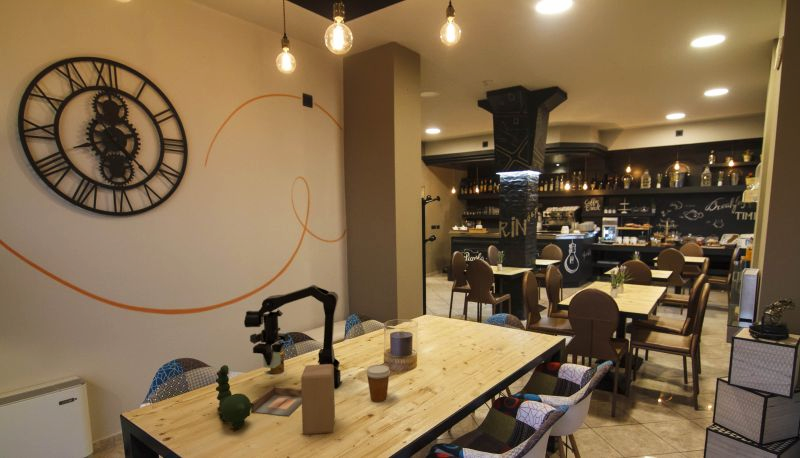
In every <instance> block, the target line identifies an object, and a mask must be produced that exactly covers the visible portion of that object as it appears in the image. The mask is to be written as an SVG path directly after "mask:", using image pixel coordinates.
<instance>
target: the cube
mask: <svg viewBox="0 0 800 458" xmlns="http://www.w3.org/2000/svg"><path fill="white" fill-rule="evenodd" d="M262 357H263V361H262V362H263V368H268V369H270V368H276V367H277V366H278V365H280V364H281V356H280V352H273V356H272V360H271V364H270V366H268V365H267V363H266V361H265V358H264V356H263V355H262Z"/></svg>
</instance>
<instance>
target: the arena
mask: <svg viewBox="0 0 800 458" xmlns="http://www.w3.org/2000/svg"><path fill="white" fill-rule="evenodd" d="M300 406H302V393H301V387H300V388H299V387H288V386H280V385H279V386H277V385H273V386H271V387H270V388H268V389H267V390H266V391H265V392H263V393H262V394H261V395H259V396H258V397H257V398H255V399H254V400H253V401H252V402H251V411H250V414H251V413H254V414H259V415H260V414H262V415H270V416H271V415H272V416H279V417H280V416H281V417H290V416H291V415H292V414H293V413H294V412H295V411H296V410H297V409H298V408H299V407H300Z"/></svg>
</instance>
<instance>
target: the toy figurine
mask: <svg viewBox="0 0 800 458" xmlns="http://www.w3.org/2000/svg"><path fill="white" fill-rule="evenodd" d="M229 370H230V368H229V366H228V365H225V364H224V365H222V366H221V367H220V368H219V370H218V371H217V372H216V376H217V378H216V379H215V382H216V383H217V384H218V386H216V387H215V391H217V392H218V394H217V396H216V400H218V401H219V402H218V407H217V409H216V410H217V412H218V413H220V414H219V416H218V418H219V419H220V420H221V423H224V424H227V423H228V424H229V423H230V424H231V428H232V429H233V430H238V429H241V428H243V427H244V426H245V424H246V421H245V419H247V418H249V417H250V416H251V403H252V402H251V400H250V398H249V396H247V395H246V394H243V393H237V392H236V393H234V394H232V391H231V389H230V387H231V384H230V383H229V380H230V379H229V376H228V374H229Z"/></svg>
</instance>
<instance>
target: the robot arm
mask: <svg viewBox="0 0 800 458" xmlns="http://www.w3.org/2000/svg"><path fill="white" fill-rule="evenodd" d="M308 297H312V298H314V299H316V300H317V301H319V302H320V303H322V305H323V306H322V307H323V311H324V329H323V343H322V344H323V345H322V348H320V349H319V351H318V361H317V364H318V365H323V364H332V365H333V366H334V390H336V389H339V387H340V386H341V385H342V384H343V381H341V379H342V378H341V369H339V367H340V365H341V363H340V361H339V360H338V359H336V356H335V349H334V332H335V331H334V330H335V329H334V327H335V313H336V310H337V305H338V302H339V296H338V293H337V292H335V291H329V290H327V289H325V288H322V287H319V286H317V285H315V284H312V285H310V286H308V287H307V286H306V287H304V288H301V289H297V290H295V291H290V292H288V293H285V294H276V295H269V296H267V297H266V298H265V299H263V301H262V302H261V307H260V309H259V310H247V311H246V312H245V317H244V320H243V321H244V322H243V324H244V328H260V327H261V326H262V325H263V329H261V331H260V332H259V333H253V334H250V336H249V342H250V343H253V345H254V346H253V347H252V353H253V354H261V355H262V357H263V356H264V358H265V361H266V363H267V365H268V366H270V364H271V360H272V356H273V352H280V353H281V350H282V348H284V346H285V345H286V343H287V342H288V341H290V336H289V334H288V333H283V332H281V333H280V332H279V331H281V327H279V317H281V316H282V315H283V314H284V312H282V311H281V310H280V309H279V308H281V307H282V306H285V305H286V304H290V303H292V302H296V301H299V300H302V299H306V298H308ZM275 310H276V311H275ZM257 343H258V344H257ZM255 344H256V345H255ZM271 347H272V348H273V350H271Z"/></svg>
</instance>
